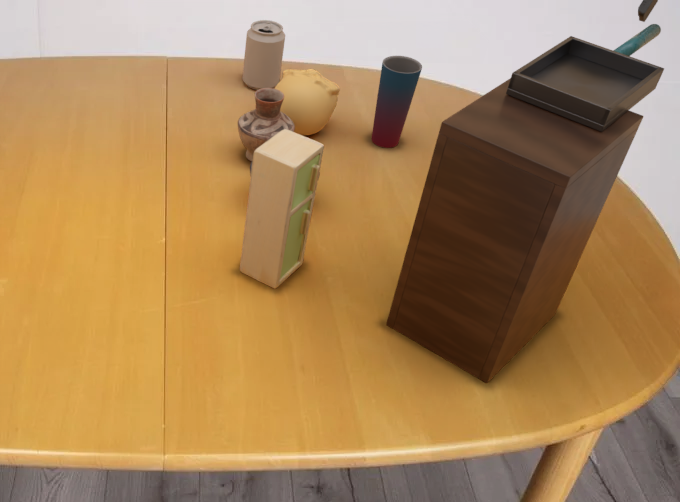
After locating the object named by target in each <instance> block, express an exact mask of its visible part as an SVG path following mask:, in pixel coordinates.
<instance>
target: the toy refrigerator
mask: <svg viewBox="0 0 680 502" xmlns="http://www.w3.org/2000/svg"><path fill="white" fill-rule="evenodd" d="M324 151H325V145H324V144H323V143H321V142H319V141H317V140H314V139H312V138H309V137H307V136H306V135H304V136H302V135H300V134H297V133H295V132H292V131H290V130H287V129H284V130H281V131H280V132H278V133H277V134H276V135H274V136H273V137H272V138H270V139H269V140H268V141H266V142H265V143H264V144H262V145H261V146H260V147H258V148H257V149H256V150H255V151H254V154H253V161H251V162H252V170H251V177H250V180H249V188H248V197H247V205H246V214H245V222H244V230H243V238H242V246H241V255H240V263H239V272H240V273H242V274H243V275H246V276H248V277H250V278H252V279H254V280H256V281H258V282H260V283H261V284H265V285H266V286H268V287H270V288H272V289H277V288H278V287H280V286H281V285H282V284H283V283H284V282H285V281H286V280H287V279H288V278H290V276H291V275H293V274H294V273H295V272H296V270H298V268H300V267H301V266H302V265H303V263H304V259H305V254H306V253H305V252H306V247H307V242H308V236H309V230H310V224H311V219H312V214H313V209H314V204H315V199H316V192H317V187H318V184H319V183H318V182H319V179H318V177H319V178H320V176H319V172H320V173H321V166H322V161H323V160H322V159H323V154H324Z"/></svg>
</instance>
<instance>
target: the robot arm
mask: <svg viewBox="0 0 680 502" xmlns="http://www.w3.org/2000/svg"><path fill="white" fill-rule="evenodd" d="M658 2H659V0H642V1H641V3H640V4H639V6H638V8H637V16H638V21H639V22H643V23H645V22H646V20H647V19H648V18H649V16H650V14H651V13H652V12H653V9H654V8H655V6H656V5H657V3H658Z"/></svg>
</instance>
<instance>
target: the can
mask: <svg viewBox="0 0 680 502" xmlns="http://www.w3.org/2000/svg"><path fill="white" fill-rule="evenodd" d="M283 30H284V27H283V25H282V24H281V23H280V22H277V21H273V20H267V19H262V20H261V19H260V20H256V21H254V22H252V23H251V24H250V28H249V29H248V30H247V31H246V36H245V48H244V57H243V67H242V77H241V79H242V81H243V83H245V85H246V86H247V87H248V88H250V89H251V90H255V91H257V90H259V89H262V88H275V87H276V85H277V84H278V83H279V82H280V81H281V79H280V78H281V71H282V63H283V56H284V49H285V41H286V34H285V32H284V31H283Z"/></svg>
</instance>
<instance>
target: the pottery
mask: <svg viewBox="0 0 680 502" xmlns="http://www.w3.org/2000/svg"><path fill="white" fill-rule="evenodd" d="M274 88H275V87H274ZM274 88H262V89H259V90H255V92H254V101H255V108H254V109H252V110H250V111H247V112H246V113H244V114H242V115H241V116H239V118H238V120H237V130H238V134H239V138H240V142H241V143H242V145H243V146H244V148H245V149H246V152H245V157H246V159H247V160H248V161H250V165H249V175H250V177H249V178H251V170H252V161H253V154H254V151H255V150H256V149H257V148H258V147H260V146H261V145H262V144H264V143H265V142H266V141H268V140H269V139H270V138H272V137H273V136H274V135H276V134H277V133H278V132H280V131H281V130H284V129H287V130H290V131H292V132H294V130H295V125H294V123H293V121H292V120H291V119H290V118H289V117H288V116H287V115H286V114H284V113H283V112H281V111H280V108H281V105H282V102H283V100H284V94H283V93H282V92H281V91H279V90H277V89H274ZM320 174H321V171H320V172H319V177H318V180H319V179H320Z"/></svg>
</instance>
